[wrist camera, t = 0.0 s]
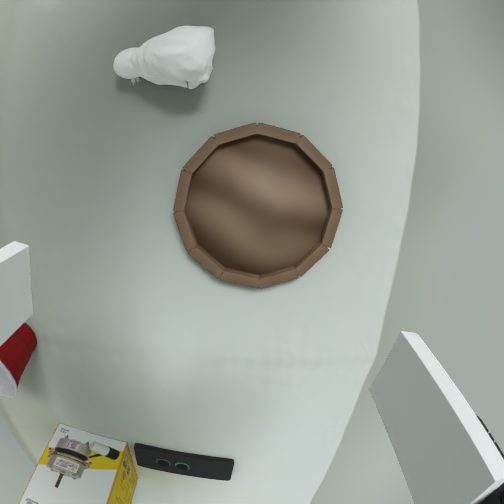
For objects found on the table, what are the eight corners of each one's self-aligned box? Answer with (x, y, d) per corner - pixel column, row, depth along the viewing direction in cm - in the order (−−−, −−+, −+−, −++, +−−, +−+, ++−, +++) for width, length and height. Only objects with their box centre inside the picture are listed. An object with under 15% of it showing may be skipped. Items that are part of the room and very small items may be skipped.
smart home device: (133, 446, 50) (234, 463, 51) (135, 440, 52) (234, 456, 53) (137, 466, 53) (229, 481, 54) (139, 460, 54) (230, 475, 55)
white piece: (203, 76, 24) (87, 84, 25) (221, 91, 32) (125, 94, 33) (211, 14, 22) (96, 28, 23) (226, 41, 30) (131, 47, 31)
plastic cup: (22, 361, 45) (-9, 400, 34) (-5, 312, 42) (-43, 346, 31) (59, 359, 45) (27, 404, 33) (30, 304, 41) (-12, 343, 30)
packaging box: (77, 461, 56) (47, 537, 32) (59, 422, 51) (16, 508, 27) (138, 478, 57) (117, 562, 33) (127, 442, 52) (95, 543, 28)
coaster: (198, 110, 33) (195, 109, 31) (353, 151, 34) (359, 152, 33) (167, 260, 39) (164, 266, 37) (310, 292, 40) (312, 299, 38)
